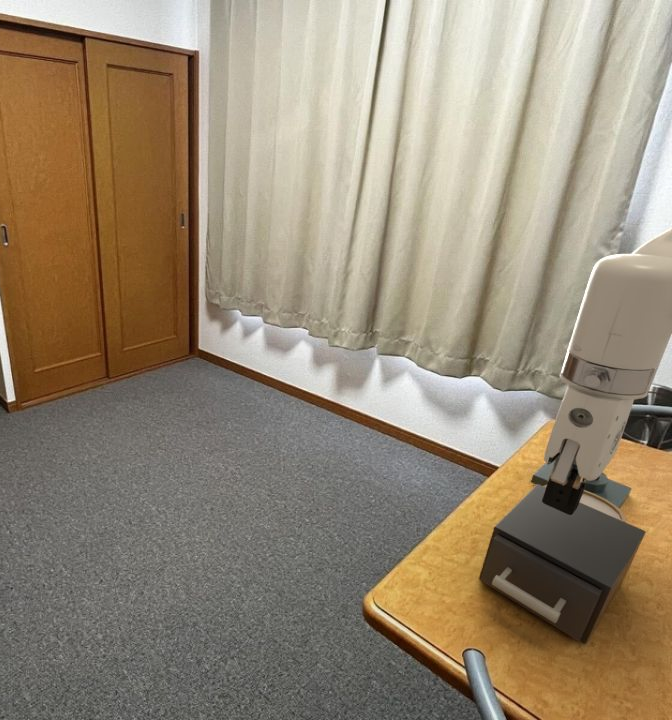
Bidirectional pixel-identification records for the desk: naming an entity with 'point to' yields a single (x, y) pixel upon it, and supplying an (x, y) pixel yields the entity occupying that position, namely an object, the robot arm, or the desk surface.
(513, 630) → the desk surface
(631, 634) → the desk surface
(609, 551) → the cabinet
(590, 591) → the drawer
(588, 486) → the panel
